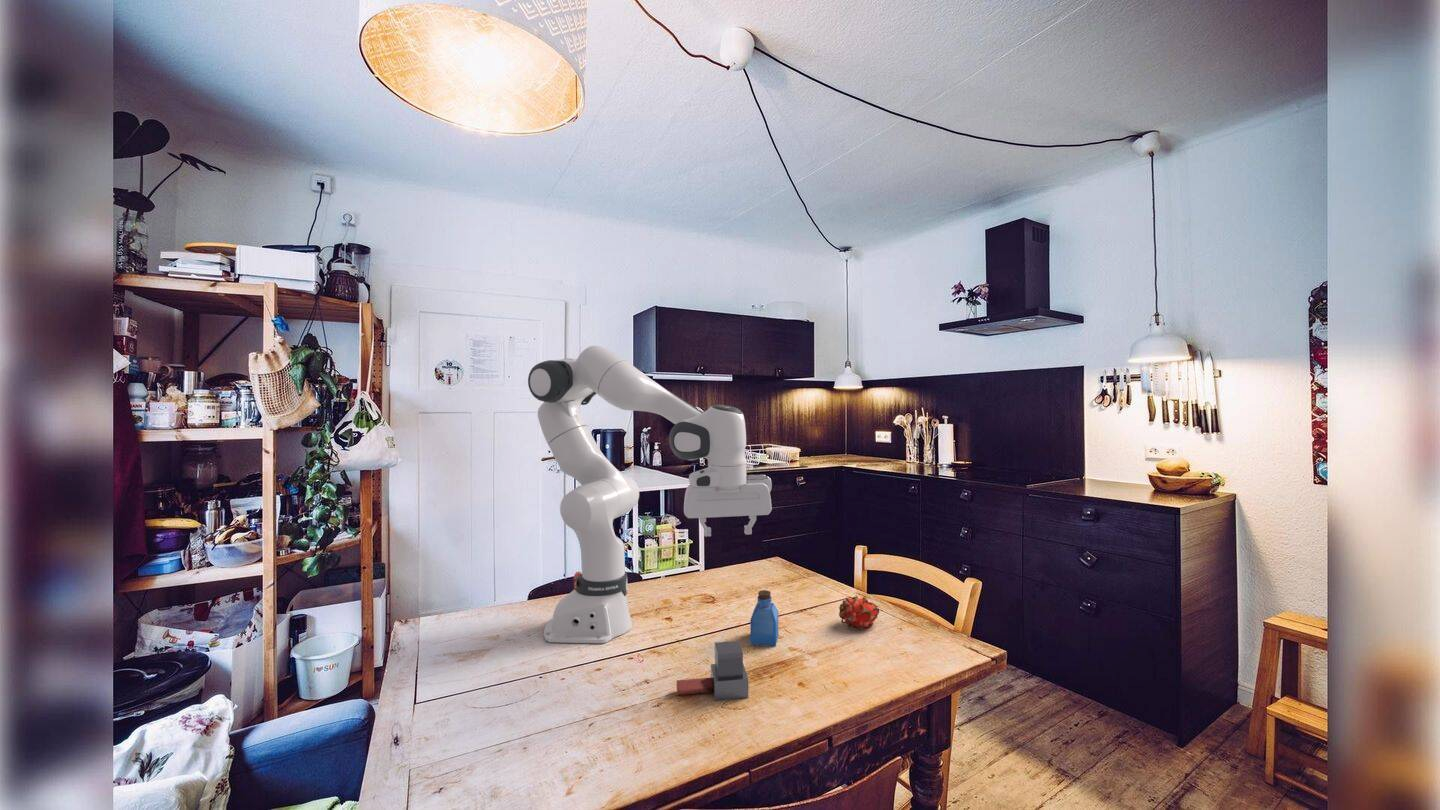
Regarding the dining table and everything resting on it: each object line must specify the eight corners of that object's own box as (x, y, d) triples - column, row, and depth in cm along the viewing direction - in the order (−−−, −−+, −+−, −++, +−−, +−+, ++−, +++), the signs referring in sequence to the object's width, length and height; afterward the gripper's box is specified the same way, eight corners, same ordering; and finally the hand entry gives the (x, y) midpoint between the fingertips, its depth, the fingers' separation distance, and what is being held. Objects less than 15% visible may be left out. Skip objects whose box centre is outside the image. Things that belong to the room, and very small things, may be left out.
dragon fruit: (834, 633, 152) (874, 634, 155) (849, 626, 145) (891, 626, 149) (828, 600, 157) (868, 601, 160) (843, 591, 150) (884, 592, 153)
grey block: (718, 679, 120) (717, 654, 120) (715, 666, 126) (714, 642, 125) (742, 677, 121) (742, 652, 121) (738, 664, 126) (738, 640, 126)
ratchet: (677, 703, 119) (677, 670, 118) (676, 684, 126) (675, 653, 125) (748, 697, 121) (748, 664, 120) (742, 679, 128) (742, 648, 127)
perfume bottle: (775, 646, 142) (775, 598, 141) (750, 644, 144) (750, 596, 143) (778, 634, 148) (778, 588, 147) (754, 632, 150) (753, 587, 149)
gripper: (768, 471, 139) (769, 528, 140) (682, 474, 136) (683, 533, 137) (774, 476, 133) (774, 536, 134) (684, 480, 130) (685, 541, 131)
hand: (727, 534), depth 136 cm, fingers open, 8 cm apart
